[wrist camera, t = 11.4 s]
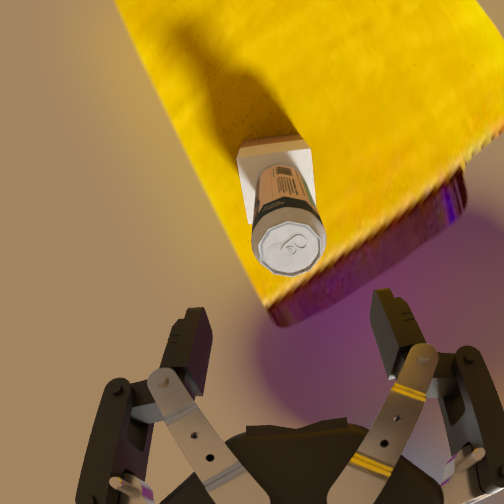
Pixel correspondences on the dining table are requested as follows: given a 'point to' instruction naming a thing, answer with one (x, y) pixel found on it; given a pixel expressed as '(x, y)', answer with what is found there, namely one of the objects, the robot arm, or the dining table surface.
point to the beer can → (286, 222)
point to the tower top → (267, 155)
